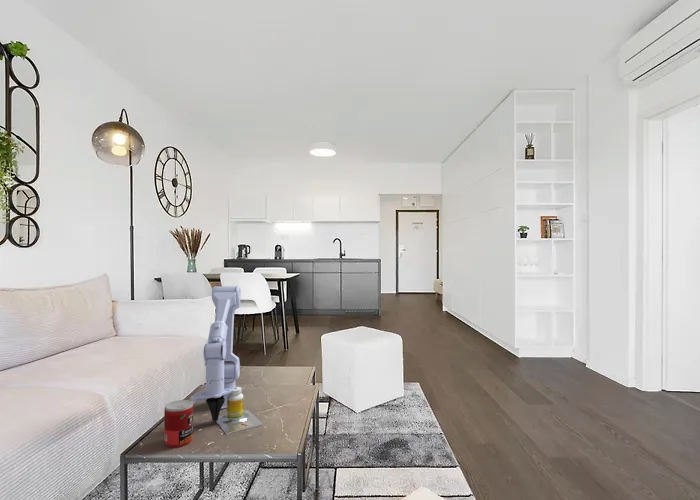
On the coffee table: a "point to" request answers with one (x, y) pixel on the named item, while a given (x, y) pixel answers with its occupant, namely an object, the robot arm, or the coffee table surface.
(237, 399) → the supplement bottle
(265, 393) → the coffee table surface
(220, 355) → the robot arm
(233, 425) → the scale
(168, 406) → the canned food
